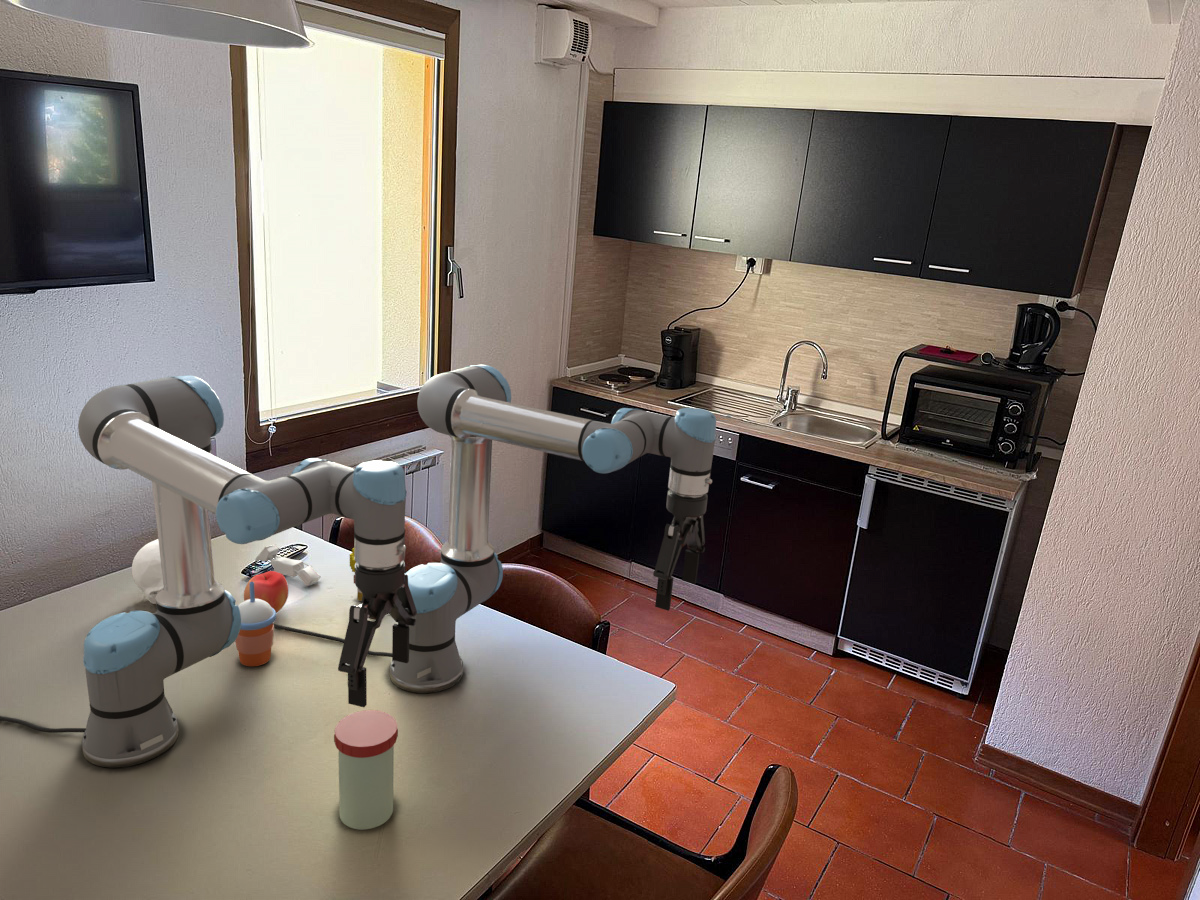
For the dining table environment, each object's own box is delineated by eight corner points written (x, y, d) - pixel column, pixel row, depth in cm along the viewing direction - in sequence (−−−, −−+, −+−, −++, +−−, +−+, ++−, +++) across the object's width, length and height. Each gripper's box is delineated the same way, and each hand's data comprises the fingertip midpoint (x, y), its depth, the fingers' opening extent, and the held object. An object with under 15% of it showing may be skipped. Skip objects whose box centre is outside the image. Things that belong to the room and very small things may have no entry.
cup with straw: (262, 673, 177) (258, 595, 172) (223, 666, 179) (218, 588, 174) (286, 652, 186) (283, 577, 181) (248, 645, 187) (244, 570, 182)
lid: (379, 764, 132) (379, 752, 132) (322, 750, 135) (321, 739, 134) (408, 727, 142) (408, 717, 141) (354, 715, 144) (354, 704, 143)
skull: (197, 623, 194) (195, 558, 190) (119, 603, 200) (115, 540, 196) (237, 600, 207) (236, 539, 203) (163, 582, 212) (160, 522, 208)
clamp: (253, 565, 223) (254, 542, 221) (265, 560, 226) (266, 537, 224) (309, 593, 215) (310, 569, 213) (320, 588, 218) (321, 564, 216)
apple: (273, 600, 207) (272, 562, 204) (297, 613, 202) (296, 575, 199) (237, 614, 200) (234, 575, 197) (261, 628, 194) (259, 588, 191)
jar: (377, 835, 137) (377, 752, 133) (329, 822, 139) (327, 740, 135) (402, 800, 145) (403, 720, 141) (356, 788, 147) (355, 709, 143)
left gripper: (358, 600, 119) (359, 730, 125) (438, 536, 142) (436, 649, 148) (311, 590, 121) (314, 719, 127) (397, 528, 144) (397, 640, 150)
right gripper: (681, 516, 147) (669, 626, 153) (728, 478, 168) (716, 576, 174) (642, 506, 150) (631, 614, 156) (693, 470, 171) (682, 566, 178)
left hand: (380, 681), depth 138 cm, fingers open, 13 cm apart
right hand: (676, 594), depth 165 cm, fingers open, 13 cm apart
